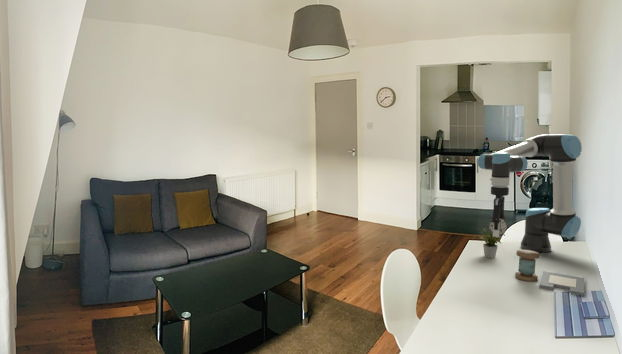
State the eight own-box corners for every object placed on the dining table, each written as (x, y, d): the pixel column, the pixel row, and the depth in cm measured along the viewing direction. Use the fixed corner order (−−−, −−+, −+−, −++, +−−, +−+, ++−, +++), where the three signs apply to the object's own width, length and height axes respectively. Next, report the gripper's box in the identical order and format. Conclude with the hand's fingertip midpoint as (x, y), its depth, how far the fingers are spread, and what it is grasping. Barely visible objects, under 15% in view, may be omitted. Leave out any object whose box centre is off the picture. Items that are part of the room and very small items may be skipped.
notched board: (543, 274, 192) (543, 270, 192) (584, 281, 183) (584, 277, 183) (539, 288, 175) (539, 284, 175) (584, 296, 166) (584, 292, 166)
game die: (500, 243, 190) (505, 230, 183) (482, 234, 195) (487, 221, 188) (508, 231, 195) (514, 217, 188) (491, 223, 199) (495, 209, 192)
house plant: (471, 258, 215) (472, 227, 213) (474, 251, 228) (475, 222, 226) (501, 262, 209) (502, 230, 207) (502, 254, 221) (504, 225, 219)
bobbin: (516, 273, 193) (518, 248, 192) (538, 277, 188) (540, 251, 187) (513, 279, 186) (515, 253, 184) (536, 283, 181) (538, 256, 179)
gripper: (495, 182, 200) (493, 228, 203) (486, 188, 182) (484, 238, 185) (512, 184, 196) (509, 230, 198) (505, 189, 178) (502, 240, 181)
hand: (497, 234), depth 192 cm, fingers closed on game die, 8 cm apart
